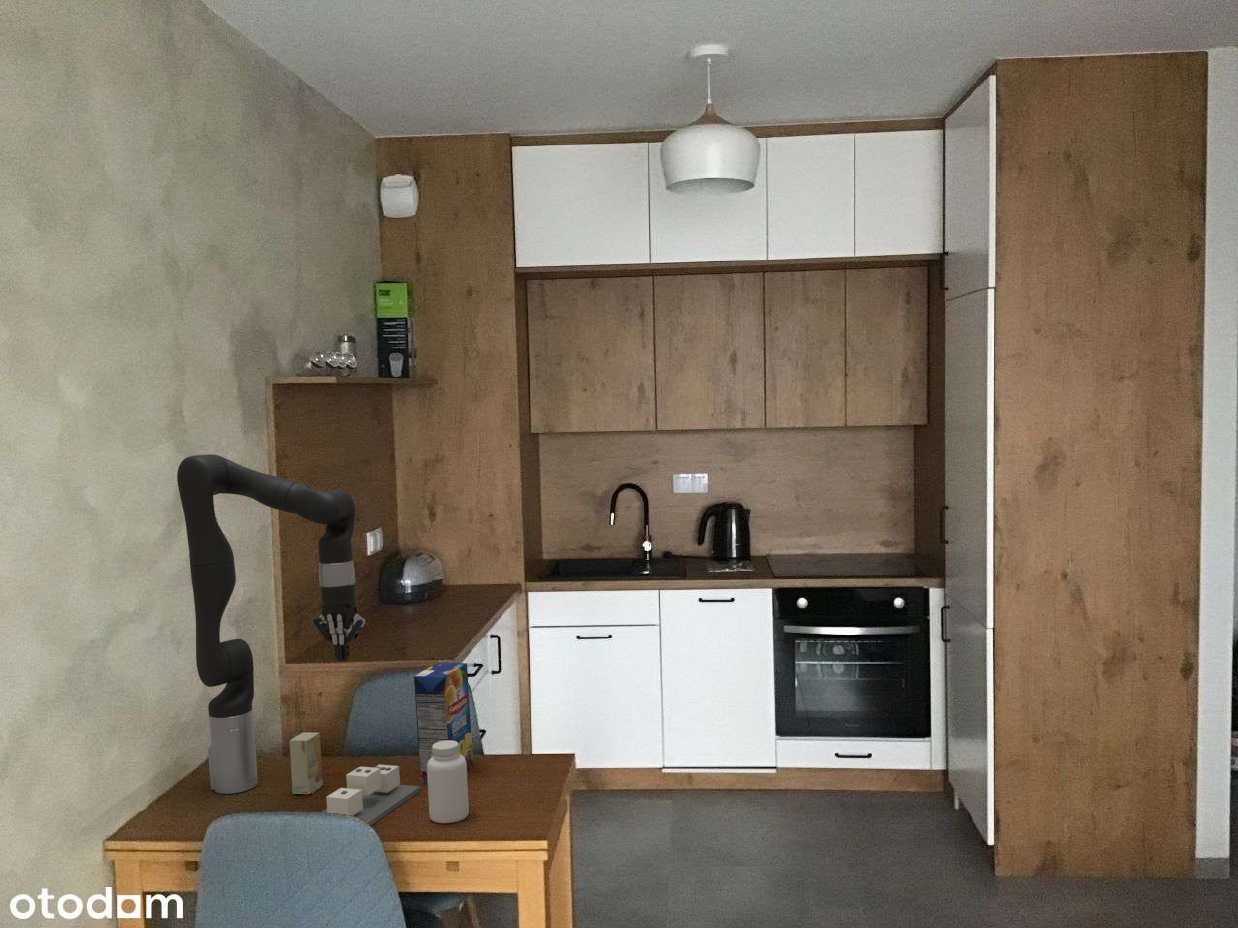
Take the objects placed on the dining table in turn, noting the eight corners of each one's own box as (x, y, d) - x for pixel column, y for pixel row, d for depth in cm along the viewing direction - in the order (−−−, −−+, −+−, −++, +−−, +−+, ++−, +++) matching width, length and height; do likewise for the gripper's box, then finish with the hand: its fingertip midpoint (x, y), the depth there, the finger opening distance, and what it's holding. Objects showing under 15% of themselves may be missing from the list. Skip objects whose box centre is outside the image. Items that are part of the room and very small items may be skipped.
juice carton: (444, 763, 242) (437, 662, 240) (473, 765, 240) (467, 663, 238) (420, 782, 230) (413, 676, 229) (451, 783, 228) (444, 676, 227)
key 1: (327, 816, 209) (326, 795, 208) (342, 806, 213) (341, 786, 213) (348, 818, 207) (347, 797, 207) (363, 808, 212) (361, 788, 211)
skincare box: (310, 795, 225) (306, 740, 225) (291, 795, 226) (288, 740, 226) (324, 784, 232) (320, 731, 231) (306, 784, 233) (302, 731, 232)
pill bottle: (451, 827, 204) (447, 752, 204) (421, 820, 209) (416, 747, 208) (477, 812, 211) (473, 740, 210) (447, 806, 215) (443, 735, 214)
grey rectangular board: (307, 825, 209) (306, 821, 209) (369, 786, 229) (368, 781, 229) (361, 831, 204) (361, 826, 204) (420, 790, 225) (419, 786, 225)
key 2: (347, 793, 215) (346, 773, 215) (361, 784, 220) (360, 764, 220) (367, 795, 213) (366, 775, 213) (381, 786, 218) (380, 766, 218)
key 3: (367, 790, 222) (366, 770, 222) (380, 782, 226) (379, 762, 226) (387, 792, 220) (386, 772, 220) (400, 783, 225) (398, 764, 224)
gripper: (301, 584, 224) (306, 663, 225) (353, 585, 219) (358, 666, 220) (322, 578, 231) (327, 655, 232) (373, 579, 226) (378, 657, 227)
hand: (342, 660), depth 226 cm, fingers closed
